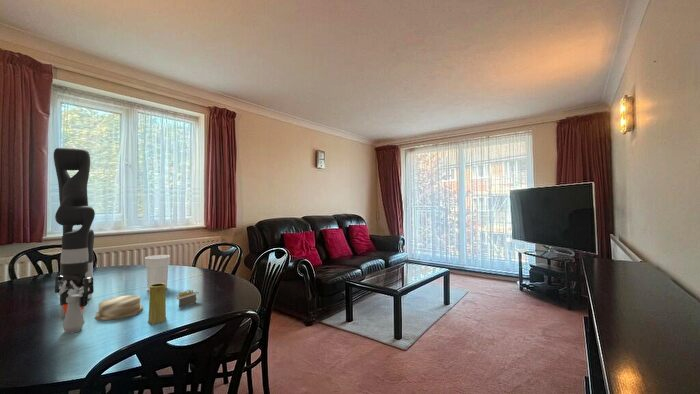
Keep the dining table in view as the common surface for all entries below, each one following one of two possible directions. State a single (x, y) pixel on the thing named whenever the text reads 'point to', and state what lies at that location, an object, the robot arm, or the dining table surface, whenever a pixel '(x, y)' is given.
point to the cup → (157, 269)
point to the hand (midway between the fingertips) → (73, 305)
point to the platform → (186, 298)
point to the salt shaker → (73, 315)
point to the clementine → (66, 308)
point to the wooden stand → (119, 307)
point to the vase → (157, 303)
